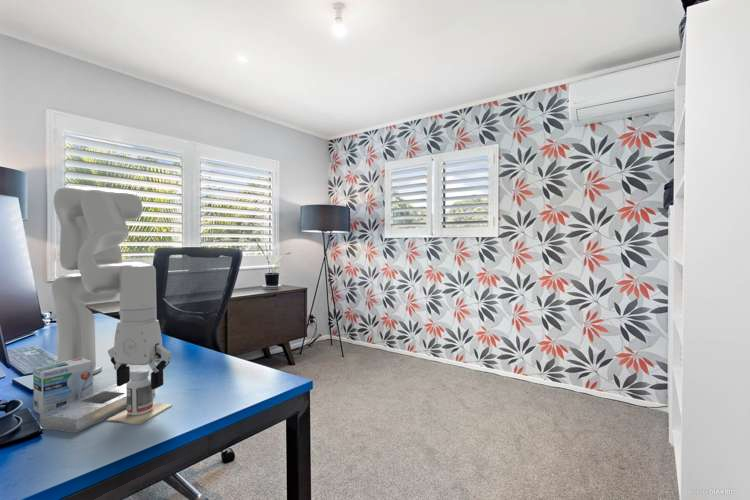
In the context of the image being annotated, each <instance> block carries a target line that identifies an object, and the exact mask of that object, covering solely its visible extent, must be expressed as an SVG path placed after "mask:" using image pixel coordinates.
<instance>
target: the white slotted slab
mask: <svg viewBox="0 0 750 500" xmlns="http://www.w3.org/2000/svg"><path fill="white" fill-rule="evenodd" d="M126 385H127V383H126V384H124V385H122V386H117V382H116V383H115V384H112V385H110V386H106V387H104V388H102V389H100V390H98V391H94V392H93V393H92V394H90V395H87V396H85V397H82V398H80V399H78V400H75V401H73V402H70V403H68V404H66V405H63V406H61V407H58V408H56V409H53V410H51V411H49V412H46V413H44V414H39V426H41V427H42V428H43V429H42V430H50V431H59V432H65V433H76V434H77V433H79V432H82V431H83V430H86V429H87V428H89V427H91V426H93V425H95V424H97V423H100V422H101V421H103V420H105V419H108V418H110V417H112V416H114V415H116V414H118V413H120V412H122V411H124V410H126V409H127V393H126ZM152 392H153V395H155V394H156V389H152Z"/></svg>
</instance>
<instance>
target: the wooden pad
mask: <svg viewBox="0 0 750 500" xmlns="http://www.w3.org/2000/svg"><path fill="white" fill-rule="evenodd" d="M172 406H173V404H172V403H171V404H170V403H159V402H153V408H152V410H151V411H149V412H147V413H145V414H141V415H135V416H132V415H128V414H127V408H125V409H123V410H121V411H119V412H117V413H115V414H113V415H111V416H109V417H107V418H106V421H107V422H113V423H122V424H132V425H141V424H143V423H146V422H147V421H148V420H151V419H152V418H154V417H156V416H157V415H158V414H160V413H162V412H164V411H166V410H168V409H170V408H172Z"/></svg>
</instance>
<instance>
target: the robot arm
mask: <svg viewBox="0 0 750 500" xmlns="http://www.w3.org/2000/svg"><path fill="white" fill-rule="evenodd" d="M53 207H54V210H55V213H56V215H57V218H58V219H57V220H58V222H59V225H60V236H59V238H60V239H59V263H60V266H61V268H63V269H64V270H66V271H72V272H73V271H75V272H76V271H78V272H79V273H70V274H64V275H61V276H58V277H57V278H55V279H54V280H53V282H52V284H51V292H52V297H53V301H54V307H55V317H56V338H57V339H56V343H57V345H56V346H57V349H56V350H57V354H56V355H57V359H55V361H52V362H51V364H54V363H58V362H63V361H68V360H72V359H77V358H81V357H82V358H85V359H87V360H90V361H92V362H93V375H96V374H98V373H99V372H101V371H102V369H103V368H102V367H103V365H101V364H100V363H97V361H96V360H97V359H96V358H97V357H96V356H97V355H96V350H97V349H96V322H95V320H96V319H95V315H94V313H93V312H92V311H91V310H90V309H89V308H87V306H86V305H87V304H91V303H99V302H100V303H101V302H106V301H107V302H109V301H113V300H115V299H116V298H117V297H118V296H119V310H118V315H119V321H117V323H116V327H115V328H116V329H115V331H114V332H115V333H114V343H113V345H114V346H113V347H111V348H109V349H108V350H107V354H108V356H109V358H110V362H111V363H112V364H113V369H114V370H115V371H116V383H117V386H122V385H124V384H126V383H128V382H129V381H130V380H131V379H130V372H131V370H130V365H132V366H147V365H148V366H149V368H150V370H152V372H150V378H151V389H155V390H156V389H158V388H160V387H162V386H164V370H166V367H167V366H168V365H169V363H170V360H171V358H172V357H173V353H172V351H170V350H168V349H167V348H166V347H164V346H163V339H162V330H161V326H160V321H159V319H157V317H158V316H157V314H158V313H157V311H158V310H157V309H158V308H157V307H158V306H157V269H156V267H155V266H154V265H153V264H151V263H150V264H149V263H144V262H139V261H130V262H129V261H128V262H126V261H125V262H123V261H122V259H123V256H122V255H123V254H122V249H121V247H120V244H122V243H124V242H125V240H127V238H128V237H129V233H130V232H129V231H130V230H129V228H128V226H127V223H126V221H136V220H138V219H140V217H141V216H142V213H143V204H142V200H141V198H140V197H139V196H138V194H137V193H135V192H133V191H129V190H119V189H110V188H109V189H107V188H92V187H82V186H64V187H60V188H57V190H56V191H55V192H54V195H53ZM85 304H86V305H85Z"/></svg>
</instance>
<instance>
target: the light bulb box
mask: <svg viewBox="0 0 750 500" xmlns="http://www.w3.org/2000/svg"><path fill="white" fill-rule="evenodd" d="M32 374H33V375H32V377H33V382H32V384H33V387H32V388H33V411H34V412H36V413H37V414H39V415H41V414H44V413H46V412H49V411H51V410H53V409H56V408H58V407H61V406H63V405H66V404H68V403H70V402H73V401H75V400H78V399H80V398H82V397H85V396H87V395H90V394H92V393H94V391H93V390H94V388H93V387H94V385H93V382H94V381H93V375H94V374H93V362H92V361H90V360H87V359H85V358H82V357H81V358H77V359H72V360H68V361H63V362H58V363H54V364H46V365H41V366H36V367H33V371H32Z"/></svg>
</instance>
